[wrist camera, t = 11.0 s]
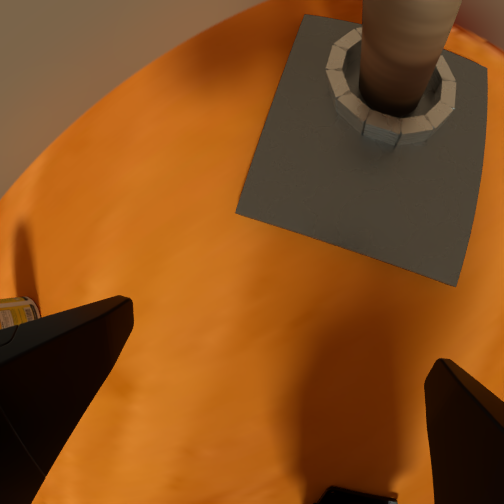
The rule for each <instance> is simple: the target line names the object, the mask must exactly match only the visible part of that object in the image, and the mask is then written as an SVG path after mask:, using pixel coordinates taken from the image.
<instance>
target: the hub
mask: <svg viewBox="0 0 504 504" xmlns="http://www.w3.org/2000/svg"><path fill="white" fill-rule="evenodd" d="M361 41H362V24H357V23H353V22H348V21H343V20H338V19H332V18H326V17H320V16H314V15H306V14H305V15H304V17H303V20H302V23H301V25H300V28H299V31H298V33H297V36H296V39H295V41H294V44H293V47H292V50H291V52H290V55H289V58H288V60H287V63H286V66H285V69H284V71H283V74H282V77H281V80H280V83H279V85H278V88H277V91H276V94H275V97H274V100H273V102H272V105H271V108H270V111H269V114H268V117H267V120H266V122H265V125H264V128H263V131H262V134H261V137H260V140H259V143H258V146H257V149H256V152H255V155H254V158H253V160H252V163H251V166H250V169H249V172H248V175H247V178H246V181H245V184H244V187H243V191H242V194H241V197H240V200H239V203H238V206H237V209H236V212H235V213H236V214H239V215H242V216H245V217H248V218H251V219H255V220H258V221H261V222H264V223H267V224H271V225H274V226H277V227H280V228H283V229H286V230H289V231H293V232H296V233H299V234H302V235H305V236H308V237H311V238H314V239H317V240H320V241H323V242H326V243H329V244H332V245H335V246H338V247H341V248H344V249H347V250H350V251H353V252H356V253H359V254H362V255H365V256H368V257H371V258H374V259H377V260H380V261H383V262H386V263H388V264H391V265H394V266H397V267H400V268H403V269H406V270H408V271H411V272H414V273H417V274H420V275H422V276H425V277H428V278H431V279H434V280H436V281H439V282H442V283H445V284H447V285H450V286H454V287H456V285H457V282H458V279H459V275H460V272H461V268H462V265H463V261H464V257H465V254H466V250H467V246H468V242H469V238H470V233H471V229H472V224H473V220H474V215H475V210H476V205H477V199H478V193H479V187H480V181H481V174H482V166H483V158H484V148H485V137H486V123H487V92H488V84H487V68H486V67H483V66H481V65H479V64H477V63H475V62H473V61H470V60H468V59H466V58H464V57H461V56H459V55H456V54H454V53H452V52H449V51H447V50H444V49H443V50H442V53H441V55H440V57H439V60H438V62H437V64H436V67H435V69H434V71H433V73H432V76H431V78H430V80H429V82H428V84H427V87H426V89H425V91H424V93H423V95H422V97H421V100H420V102H419V104H418V106H417V107H416V108H415V109H414V110H413V111H412V112H411V113H409V114H406V115H403V116H390V115H386V114H383V113H380V112H378V111H376V110H375V109H373V108H372V107H370V106H369V105H368V104H367V103H366V102H365V100H364V99H363V97H362V95H361V93H360V90H359V74H360V59H361Z"/></svg>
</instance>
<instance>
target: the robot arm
mask: <svg viewBox="0 0 504 504" xmlns="http://www.w3.org/2000/svg"><path fill="white" fill-rule="evenodd" d="M133 326H134V315H133V302H132V300H131V299H130V298H128V297H124V296H121V295H117V296H114V297H111V298H107V299H104V300H100V301H97V302H94V303H90V304H87V305H83V306H80V307H76V308H73V309H70V310H66V311H63V312H59V313H56V314H52V315H49V316H45V317H42V318H39V319H35V320H32V321H28V322H25V323H21V324H19V325H14V326H11V327H7V328H3V329H0V504H31V503H32V501H33V499H34V498H35V496H36V494H37V492H38V490H39V489H40V487H41V485H42V483H43V482H44V480H45V477H46V476H47V474H48V472H49V471H50V469H51V467H52V465H53V464H54V462H55V460H56V459H57V457H58V455H59V454H60V452H61V450H62V448H63V447H64V445H65V443H66V442H67V440H68V439H69V437H70V435H71V434H72V432H73V430H74V429H75V427H76V425H77V424H78V422H79V421H80V419H81V417H82V416H83V414H84V413H85V411H86V409H87V408H88V406H89V405H90V403H91V401H92V400H93V398H94V397H95V395H96V394H97V392H98V390H99V389H100V387H101V386H102V384H103V383H104V381H105V380H106V378H107V377H108V375H109V373H110V372H111V370H112V369H113V367H114V365H115V363H116V361H117V359H118V357H119V355H120V353H121V351H122V349H123V347H124V345H125V343H126V341H127V339H128V337H129V335H130V333H131V331H132V329H133ZM424 390H425V404H426V422H427V433H428V440H429V448H430V456H431V465H432V475H433V487H434V503H435V504H504V402H503V401H502V400H501V399H499V398H498V397H497V396H496V395H494V394H493V393H492V392H491V391H489V390H488V389H487V388H486V387H485V386H483V385H482V384H481V383H480V382H478V381H477V380H476V379H475V378H473V377H472V376H471V375H470V374H468V373H467V372H466V371H464V370H463V369H462V368H461V367H459V366H458V365H457V364H456V363H454V362H453V361H452V360H450V359H443V358H439V359H437V360H436V362H435V363H434V365H433V367H432V369H431V370H430V372H429V374H428V376H427V378H426V380H425V383H424ZM331 492H334V493H331ZM314 504H398V503H397V500H396V499H392V498H386V497H380V496H375V495H370V494H365V493H360V492H355V491H351V490H346V489H342V488H338V487H329V488H328V489H327V490H326V491H325V492H324V494H323V495H322V497H321V498H320V499H319V501H318V502H317V503H314Z"/></svg>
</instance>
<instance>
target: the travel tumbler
mask: <svg viewBox="0 0 504 504" xmlns="http://www.w3.org/2000/svg"><path fill="white" fill-rule="evenodd" d="M461 2H462V0H363V14H362V41H361V59H360V74H359V90H360V93H361V95H362V97H363V99H364V100H365V102H366V103H367V104H368V105H369V106H370V107H372V108H373V109H375V110H376V111H378V112H380V113H383V114H386V115H390V116H403V115H406V114H409V113H411V112H412V111H413V110H414V109H415V108H416V107H417V106H418V104H419V102H420V100H421V97H422V95H423V93H424V91H425V89H426V87H427V84H428V82H429V80H430V78H431V76H432V73H433V71H434V69H435V67H436V64H437V62H438V60H439V57H440V55H441V53H442V50H443V48H444V45H445V43H446V41H447V38H448V36H449V33H450V31H451V28H452V26H453V23H454V21H455V18H456V15H457V12H458V10H459V7H460V4H461Z"/></svg>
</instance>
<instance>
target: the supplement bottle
mask: <svg viewBox="0 0 504 504" xmlns="http://www.w3.org/2000/svg"><path fill="white" fill-rule="evenodd" d="M39 318H40V313H39V310H38V308H37V306H36V304H35V303H34V301H33V300H32V299H30V298H29V297H16V298H7V299H0V329H3V328H7V327H11V326H14V325H19V324H21V323H25V322H28V321H32V320H35V319H39Z"/></svg>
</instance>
